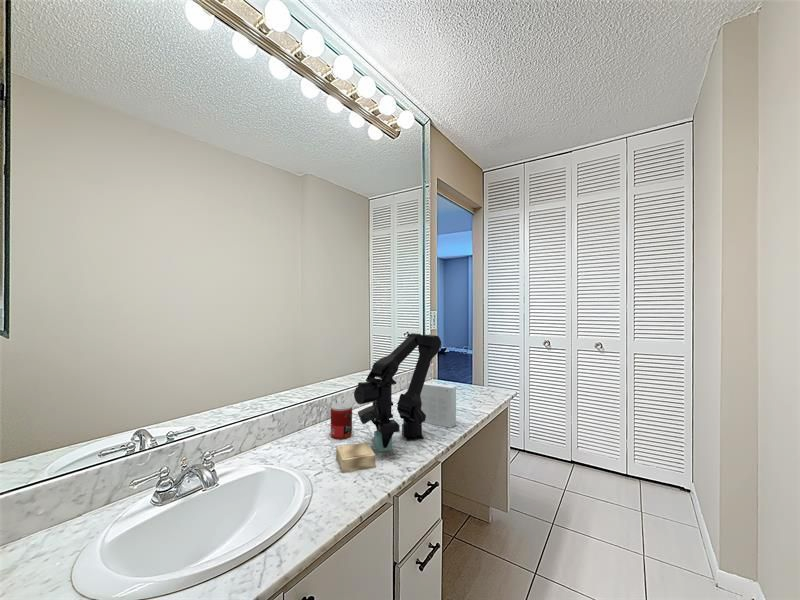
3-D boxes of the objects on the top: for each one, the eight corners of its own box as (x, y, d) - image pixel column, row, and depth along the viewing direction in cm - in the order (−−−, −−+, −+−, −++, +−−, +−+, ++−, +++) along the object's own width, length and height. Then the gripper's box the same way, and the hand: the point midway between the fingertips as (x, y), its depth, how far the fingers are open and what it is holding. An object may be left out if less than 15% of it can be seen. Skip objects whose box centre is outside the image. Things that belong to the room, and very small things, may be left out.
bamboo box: (366, 454, 110) (366, 441, 110) (375, 468, 100) (375, 454, 100) (336, 459, 106) (336, 446, 106) (342, 474, 97) (342, 459, 97)
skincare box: (456, 424, 137) (456, 385, 137) (451, 428, 132) (451, 388, 133) (412, 415, 148) (412, 379, 149) (405, 419, 144) (406, 381, 144)
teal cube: (387, 443, 117) (387, 429, 118) (391, 449, 113) (392, 434, 113) (374, 445, 116) (374, 431, 116) (377, 451, 111) (377, 436, 111)
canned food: (347, 440, 120) (348, 409, 120) (327, 438, 122) (327, 408, 122) (354, 432, 128) (355, 403, 128) (335, 431, 129) (335, 402, 130)
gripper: (354, 393, 121) (354, 437, 121) (365, 408, 103) (365, 459, 103) (384, 391, 124) (384, 433, 124) (400, 405, 107) (399, 454, 106)
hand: (382, 444), depth 114 cm, fingers closed on teal cube, 5 cm apart
